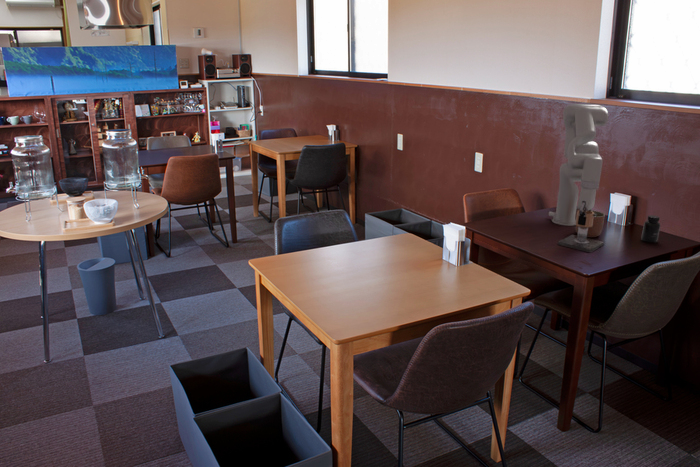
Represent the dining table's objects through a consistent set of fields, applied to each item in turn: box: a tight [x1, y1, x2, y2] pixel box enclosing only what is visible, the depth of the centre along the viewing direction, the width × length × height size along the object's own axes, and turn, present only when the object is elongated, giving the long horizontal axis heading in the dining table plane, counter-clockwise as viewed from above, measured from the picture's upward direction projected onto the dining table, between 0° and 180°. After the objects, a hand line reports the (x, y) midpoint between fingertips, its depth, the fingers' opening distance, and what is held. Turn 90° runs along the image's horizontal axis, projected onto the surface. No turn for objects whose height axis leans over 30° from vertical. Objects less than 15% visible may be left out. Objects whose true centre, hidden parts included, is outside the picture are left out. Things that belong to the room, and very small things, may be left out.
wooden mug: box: [575, 209, 596, 227], centre depth 246 cm, size 8×7×6 cm
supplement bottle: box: [640, 214, 661, 244], centre depth 255 cm, size 7×7×12 cm
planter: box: [575, 209, 606, 238], centre depth 263 cm, size 12×12×11 cm
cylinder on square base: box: [557, 226, 605, 253], centre depth 248 cm, size 15×15×10 cm
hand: (584, 222), depth 246 cm, fingers closed on wooden mug, 7 cm apart
